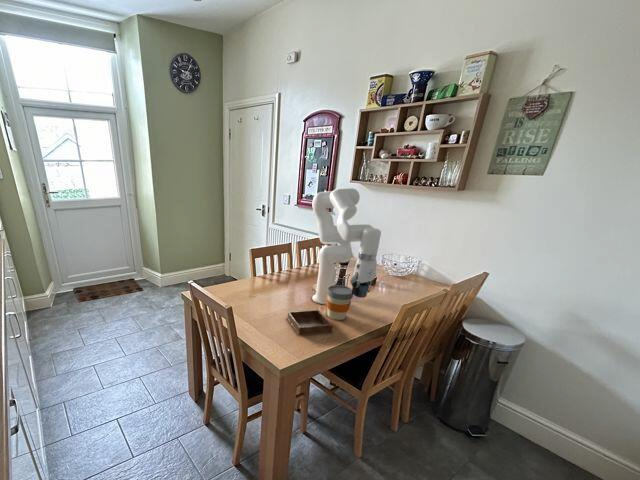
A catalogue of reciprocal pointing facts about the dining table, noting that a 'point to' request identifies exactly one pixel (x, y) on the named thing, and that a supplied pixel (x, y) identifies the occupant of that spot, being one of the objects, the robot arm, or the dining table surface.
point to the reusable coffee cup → (338, 301)
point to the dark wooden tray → (309, 322)
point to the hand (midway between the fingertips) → (360, 292)
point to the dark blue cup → (363, 289)
